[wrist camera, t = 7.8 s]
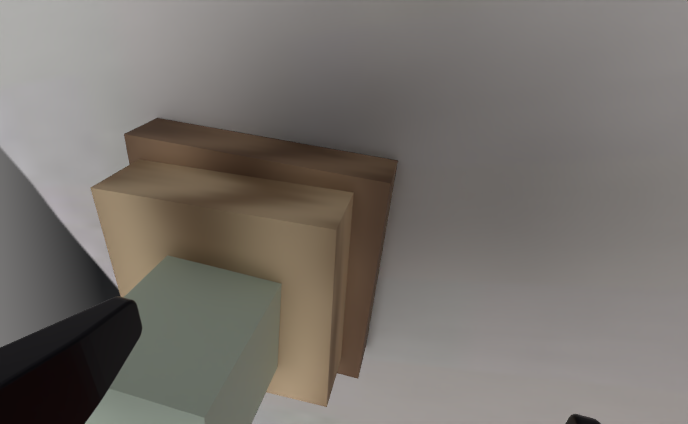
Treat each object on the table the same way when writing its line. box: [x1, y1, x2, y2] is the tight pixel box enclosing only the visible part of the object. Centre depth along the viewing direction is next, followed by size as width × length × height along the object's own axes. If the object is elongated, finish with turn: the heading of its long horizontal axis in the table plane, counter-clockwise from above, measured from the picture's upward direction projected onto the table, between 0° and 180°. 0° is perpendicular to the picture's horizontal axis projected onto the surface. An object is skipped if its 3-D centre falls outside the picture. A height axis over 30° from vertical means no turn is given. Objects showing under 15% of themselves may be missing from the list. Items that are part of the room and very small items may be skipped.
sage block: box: [85, 255, 282, 424], centre depth 16 cm, size 5×5×6 cm
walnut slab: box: [124, 118, 398, 378], centre depth 22 cm, size 12×12×3 cm
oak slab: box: [91, 159, 354, 407], centre depth 19 cm, size 10×10×3 cm
